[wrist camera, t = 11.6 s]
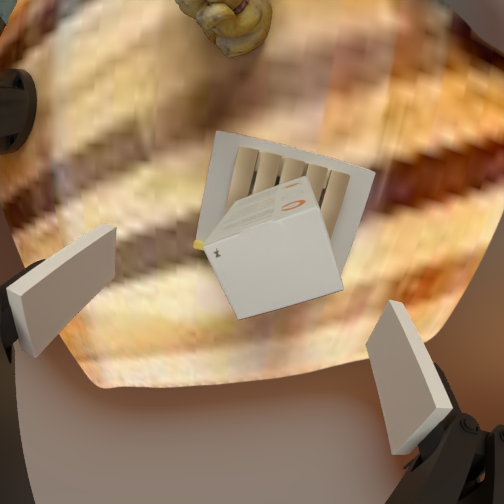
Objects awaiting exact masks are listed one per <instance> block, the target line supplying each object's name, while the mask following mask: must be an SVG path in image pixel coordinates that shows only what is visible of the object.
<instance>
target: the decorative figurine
mask: <svg viewBox="0 0 504 504" xmlns="http://www.w3.org/2000/svg"><path fill="white" fill-rule="evenodd" d="M175 2H176V3H177V4H178V5H179V7H180V9H181V11H182V12H183V13H184V14H186V15H188V16H190V17H192V18H194V19H197V23H198V24H199V25H200V26H201V27H202V29H203V30H204V33H205V34H206V35H207V36H208V38H209V39H210V40H211V41H212V42H213V43H214V44H216V45H217V46H218V47H219V49H221V50H222V52H223V54H225V56H226V57H227V58H233V57H237V56H240V55H243V54H245V53H248V52H250V51H252V50H254V49H256V48H257V47H258V46H259V45H260V44H262V42H263V41H264V40H265V38H266V37H267V35H268V32H269V29H270V24H271V18H272V6H271V3H270V1H269V0H175Z"/></svg>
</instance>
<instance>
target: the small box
mask: <svg viewBox="0 0 504 504" xmlns="http://www.w3.org/2000/svg"><path fill="white" fill-rule="evenodd" d="M202 248H203V250H204V252H205V254H206V256H207V258H208V260H209V262H210V264H211V266H212V268H213V270H214V272H215V274H216V276H217V278H218V280H219V282H220V285H221V287H222V289H223V291H224V293H225V295H226V296H227V298H228V301H229V303H230V305H231V307H232V309H233V311H234V312H235V314H236V317H237V319H238V320H242V319H246V318H249V317H253V316H257V315H260V314H264V313H268V312H271V311H275V310H278V309H282V308H285V307H289V306H292V305H296V304H299V303H303V302H306V301H309V300H312V299H316V298H319V297H322V296H325V295H329V294H332V293H335V292H338V291H342V290H343V289H344V287H343V283H342V279H341V275H340V271H339V268H338V264H337V261H336V257H335V254H334V251H333V247H332V244H331V241H330V238H329V235H328V231H327V228H326V225H325V222H324V219H323V216H322V213H321V210H320V207H319V205H318V203H317V201H316V198H315V195H314V193H313V190H312V188H311V185H310V182H309V180H308V178H307V177H306V176H303V177H300V178H297V179H294V180H291V181H288V182H285V183H283V184H280V185H277V186H274V187H272V188H269V189H266V190H263V191H261V192H258V193H255V194H253V195H250V196H247V197H245V198H242V199H240V200H237V201H235V202H234V204H233V205H232V206H231V208H230V209H229V211H228V212H227V213H226V215H225V216H224V217H223V218H222V220H221V221H220V222H219V224H218V225H217V226H216V228H215V229H214V230H213V232H212V233H211V234H210V236H209V237H208V238H207V240H206V241H205V242H204V244H203V245H202Z"/></svg>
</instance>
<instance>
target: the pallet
mask: <svg viewBox="0 0 504 504" xmlns="http://www.w3.org/2000/svg"><path fill="white" fill-rule="evenodd" d="M234 166H235V167H234V171H233V176H232V181H231V185H230V190H229V192H228V197H227V202H226V207H225V208H226V209H225V214H224V216H225V215H226V213H227V212H228V211H229V209H230V208H231V206H232V205H233V204H234V202H235V201H237V200H240V199H242V198H245V197H247V196H250V195H253V194H255V193H258V192H261V191H263V190H266V189H269V188H272V187H274V186H275V182H276V178H277V176H280V177H281V178H280V182H279V185H280V184H283V183H285V182H288V181H291V180H294V179H297V178H300V177H303V176H306V177H307V178H308V180H309V182H310V185H311V188H312V190H313V193H314V195H315V198H316V201H317V203H319V200H320V196H321V193H322V189H323V188H324V189H325V191H324V194H323V198H322V201H321V205H320V210H321V213H322V216H323V219H324V222H325V225H326V228H327V231H328V235H329V238H330V240H331V237H332V234H333V231H334V228H335V225H336V222H337V218H338V215H339V212H340V209H341V206H342V203H343V199H344V196H345V193H346V189H347V186H348V183H349V179H350V175H349V174H346V173H342V172H339V171H336V170H332V169H331V170H330V169H328V168H326V167H322V166H319V165H315V164H312V163H305V162H304V161H301V160H297V159H293V158H289V157H283V156H282V155H278V154H274V153H270V152H265V151H259V150H257V149H253V148H248V147H244V146H239V147H238V151H237V156H236V160H235V165H234ZM255 170H256V171H258V172H257V176H256V180H255V185H254V189H253V193H250V188H251V184H252V180H253V175H254V171H255Z"/></svg>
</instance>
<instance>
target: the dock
mask: <svg viewBox="0 0 504 504" xmlns="http://www.w3.org/2000/svg"><path fill="white" fill-rule="evenodd" d="M239 146H244V147H248V148H253V149H257V150H259V151H265V152H270V153H274V154H278V155H282V156H283V157H289V158H293V159H297V160H301V161H304V162H305V163H312V164H315V165H319V166H322V167H326V168H328V169H330V170H331V169H332V170H336V171H339V172H342V173H346V174H349V175H350V179H349V183H348V186H347V189H346V193H345V196H344V199H343V203H342V206H341V209H340V212H339V215H338V218H337V222H336V225H335V228H334V231H333V234H332V237H331V240H330V241H331V244H332V247H333V251H334V254H335V257H336V261H337V264H338V268H339V271H340V275H341V273H342V271H343V268H344V265H345V263H346V260H347V257H348V254H349V252H350V249H351V246H352V243H353V240H354V238H355V235H356V232H357V229H358V226H359V223H360V220H361V217H362V214H363V211H364V208H365V205H366V202H367V199H368V195H369V192H370V189H371V186H372V182H373V179H374V176H375V172H373V171H371V170H369V169H366V168H363V167H360V166H357V165H354V164H351V163H348V162H345V161H341V160H338V159H335V158H331V157H328V156H325V155H321V154H318V153H314V152H311V151H307V150H303V149H300V148H296V147H292V146H288V145H284V144H280V143H276V142H272V141H268V140H264V139H259V138H255V137H251V136H246V135H241V134H237V133H232V132H227V131H216V135H215V140H214V145H213V150H212V155H211V159H210V164H209V169H208V175H207V180H206V185H205V190H204V196H203V201H202V207H201V212H200V218H199V224H198V229H197V235H196V240H195V241H194V247H193V248H196V249H200V250H203V248H202V245H203V244H204V242H205V241H206V240H207V238H208V237H209V236H210V234H211V233H212V232H213V230H214V229H215V228H216V226H217V225H218V224H219V222H220V221H221V220H222V218H223V217H224V214H225V209H226V208H225V207H226V202H227V197H228V192H229V190H230V185H231V181H232V176H233V171H234V167H235V166H234V165H235V160H236V156H237V151H238V147H239ZM257 172H258V171H256V170H255V171H254V175H253V180H252V184H251V188H250V193H253V189H254V185H255V180H256V176H257ZM280 178H281V177H280V176H277V178H276V182H275V186H277V185H279V182H280ZM324 191H325V189H324V188H323V189H322V193H321V196H320V200H319V203H318V205H319V207H320V205H321V201H322V198H323V194H324ZM203 251H204V250H203Z"/></svg>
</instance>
